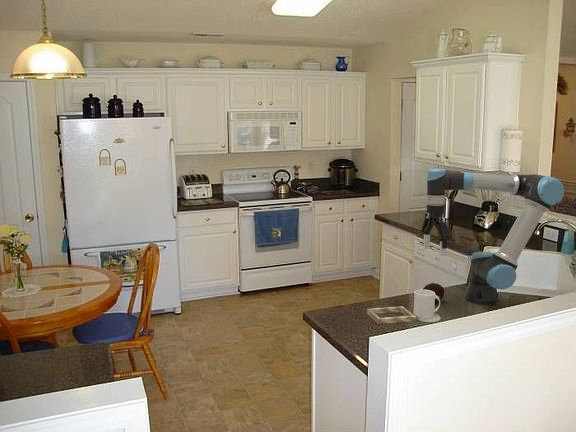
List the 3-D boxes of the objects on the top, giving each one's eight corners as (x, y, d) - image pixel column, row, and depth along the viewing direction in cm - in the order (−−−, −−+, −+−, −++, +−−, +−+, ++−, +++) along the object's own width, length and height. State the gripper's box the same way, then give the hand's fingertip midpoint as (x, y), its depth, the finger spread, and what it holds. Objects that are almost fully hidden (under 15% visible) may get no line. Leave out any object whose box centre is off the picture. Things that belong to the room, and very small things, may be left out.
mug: (444, 318, 233) (446, 294, 231) (419, 320, 230) (420, 296, 228) (434, 311, 241) (435, 288, 239) (409, 313, 238) (410, 290, 236)
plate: (432, 312, 242) (432, 311, 242) (445, 321, 231) (445, 319, 231) (409, 314, 240) (409, 312, 239) (420, 323, 229) (421, 321, 229)
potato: (448, 303, 255) (449, 284, 253) (427, 306, 250) (428, 287, 248) (436, 298, 263) (437, 279, 261) (415, 301, 258) (416, 282, 256)
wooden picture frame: (402, 310, 244) (402, 306, 244) (415, 321, 231) (416, 316, 231) (366, 313, 241) (366, 308, 240) (377, 323, 228) (378, 319, 227)
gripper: (413, 201, 248) (413, 246, 252) (443, 209, 224) (442, 259, 228) (428, 200, 250) (427, 245, 253) (459, 207, 226) (458, 257, 230)
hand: (434, 252), depth 241 cm, fingers open, 13 cm apart
